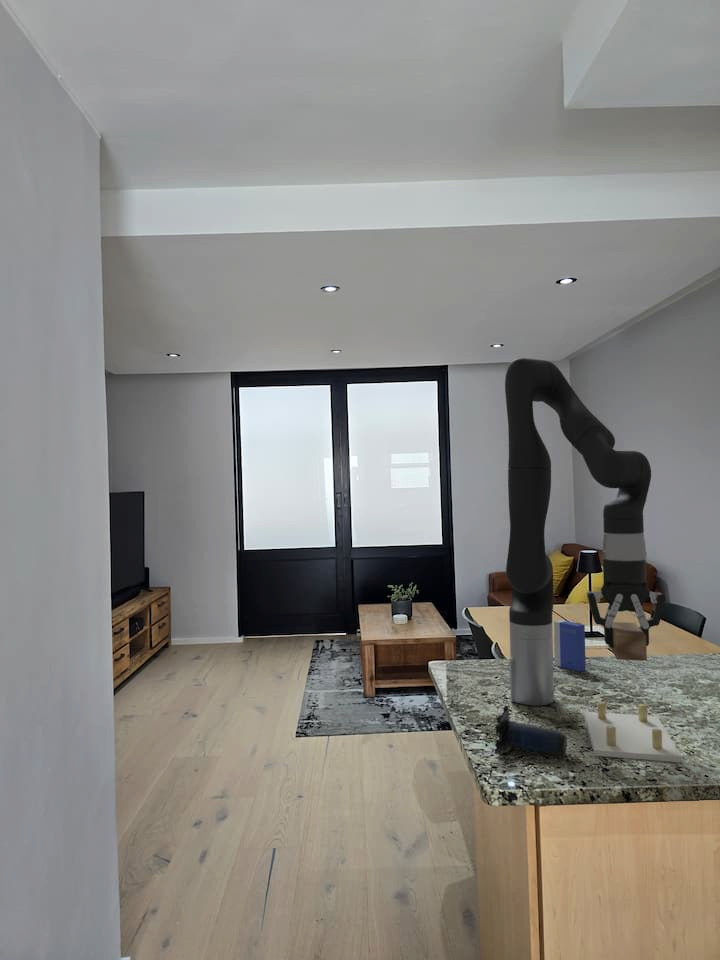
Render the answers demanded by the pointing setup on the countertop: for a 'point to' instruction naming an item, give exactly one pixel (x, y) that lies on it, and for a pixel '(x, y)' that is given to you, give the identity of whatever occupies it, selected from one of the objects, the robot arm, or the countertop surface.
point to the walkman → (569, 645)
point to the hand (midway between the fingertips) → (626, 647)
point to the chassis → (629, 735)
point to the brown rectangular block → (628, 642)
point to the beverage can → (529, 738)
